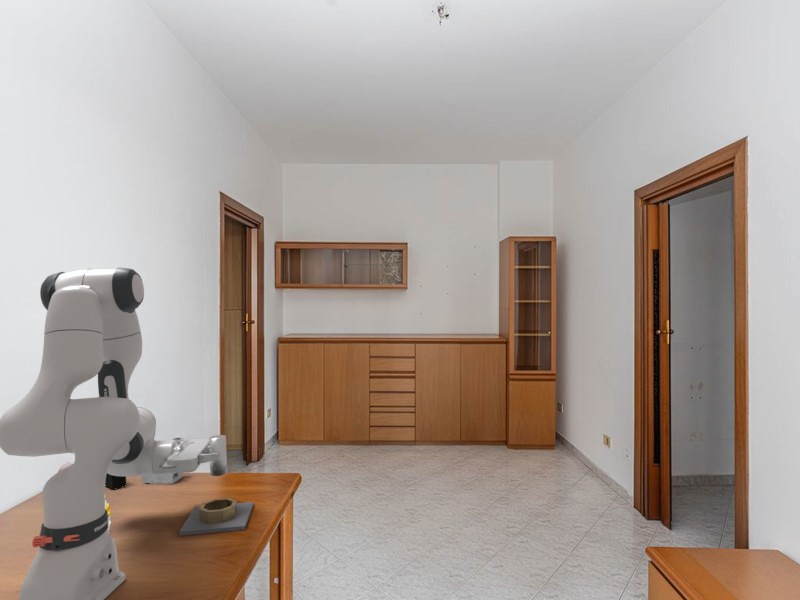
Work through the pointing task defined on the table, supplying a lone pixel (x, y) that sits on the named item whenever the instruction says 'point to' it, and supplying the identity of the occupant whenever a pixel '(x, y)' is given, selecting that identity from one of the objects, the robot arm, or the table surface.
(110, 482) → the battery
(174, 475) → the light bulb box
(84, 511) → the robot arm
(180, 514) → the table surface
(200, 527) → the base plate
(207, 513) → the bronze ring
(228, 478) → the table surface
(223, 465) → the piston
